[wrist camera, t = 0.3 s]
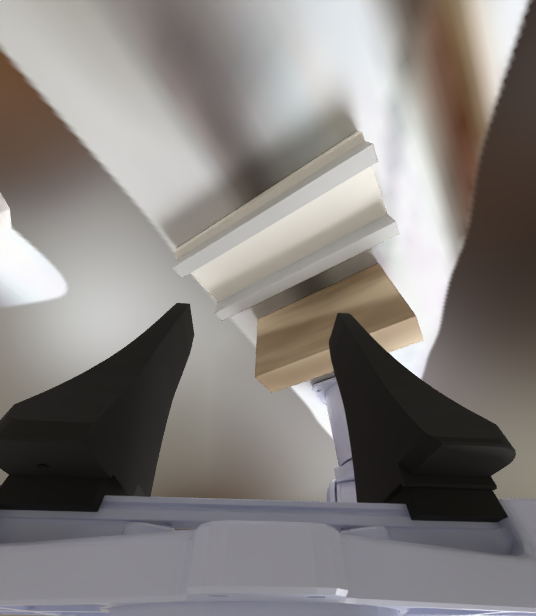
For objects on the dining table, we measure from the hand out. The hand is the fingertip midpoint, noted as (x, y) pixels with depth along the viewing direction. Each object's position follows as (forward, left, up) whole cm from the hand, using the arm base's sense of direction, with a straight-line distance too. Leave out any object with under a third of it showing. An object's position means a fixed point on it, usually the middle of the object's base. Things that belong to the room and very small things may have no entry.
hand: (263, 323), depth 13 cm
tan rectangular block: (-8, -1, -10) cm, 12 cm away
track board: (0, -1, -10) cm, 10 cm away
